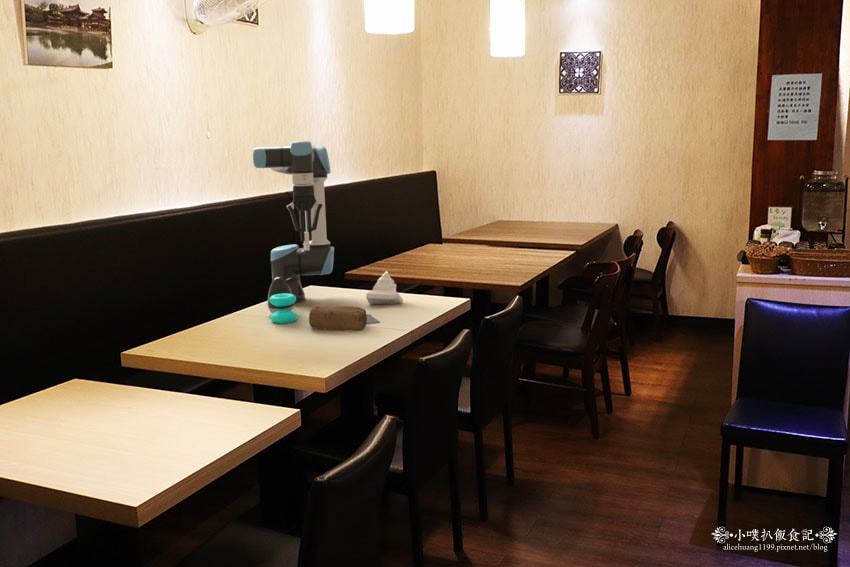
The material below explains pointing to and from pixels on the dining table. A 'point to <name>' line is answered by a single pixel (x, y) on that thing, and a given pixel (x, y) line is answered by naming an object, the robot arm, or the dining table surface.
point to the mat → (371, 319)
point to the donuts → (283, 315)
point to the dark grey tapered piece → (279, 287)
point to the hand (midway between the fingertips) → (306, 249)
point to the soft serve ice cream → (384, 291)
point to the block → (338, 318)
